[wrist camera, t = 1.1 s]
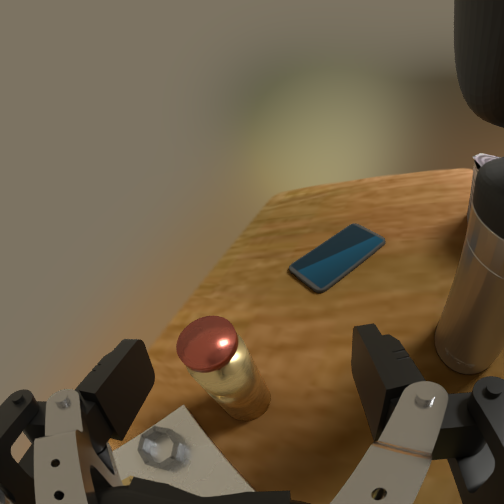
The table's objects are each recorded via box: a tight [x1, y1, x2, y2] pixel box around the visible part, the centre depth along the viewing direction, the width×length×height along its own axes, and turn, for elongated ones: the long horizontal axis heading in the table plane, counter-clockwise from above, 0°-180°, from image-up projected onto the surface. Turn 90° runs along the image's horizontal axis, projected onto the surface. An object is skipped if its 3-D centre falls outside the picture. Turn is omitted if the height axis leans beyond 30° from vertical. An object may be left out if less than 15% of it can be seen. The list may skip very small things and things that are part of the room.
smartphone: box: [289, 224, 385, 293], centre depth 42 cm, size 8×15×1 cm, turn 122°
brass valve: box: [176, 316, 271, 421], centre depth 24 cm, size 5×5×12 cm
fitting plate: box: [112, 405, 257, 497], centre depth 20 cm, size 17×14×2 cm
